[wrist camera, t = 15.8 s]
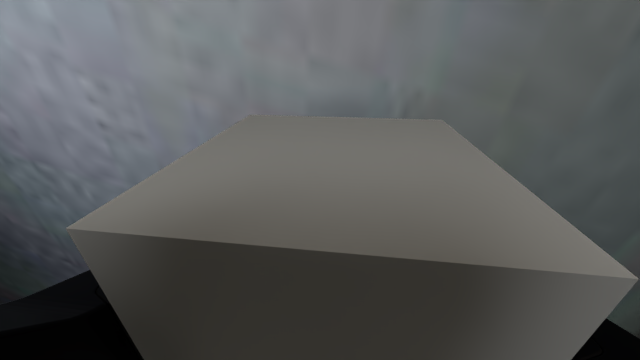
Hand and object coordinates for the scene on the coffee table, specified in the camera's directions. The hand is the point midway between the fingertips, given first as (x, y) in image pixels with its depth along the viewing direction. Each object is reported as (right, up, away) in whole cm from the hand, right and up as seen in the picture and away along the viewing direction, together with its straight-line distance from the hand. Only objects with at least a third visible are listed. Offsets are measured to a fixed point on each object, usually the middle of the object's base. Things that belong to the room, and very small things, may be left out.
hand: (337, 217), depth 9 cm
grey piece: (0, +1, +1) cm, 1 cm away
